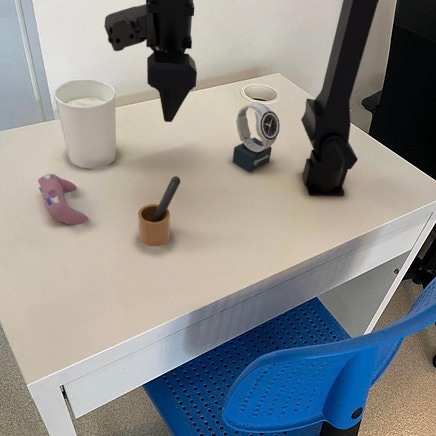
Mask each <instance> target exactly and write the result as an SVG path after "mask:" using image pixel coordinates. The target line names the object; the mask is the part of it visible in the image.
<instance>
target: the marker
mask: <svg viewBox="0 0 436 436" xmlns="http://www.w3.org/2000/svg"><path fill="white" fill-rule="evenodd" d="M180 184H181V178H180V177H179V176H177V175H175V176H172V178H171V179H170V181H169V183H168V185H167V186H166V189H165V192H164V193H163V196H162V198H161V200H160V201H159V203H158V205H159V206H158V208H157V210H156V212H155V214H154V216H153V218H152V220H151V222H159V221H161V220H162V218H163V216H164V214H165V212H166V210H167V209H168V208H169V206H170V204H171V203H172V200H173V198H174V196H175V194H176V192H177V190H178V188H179V186H180Z"/></svg>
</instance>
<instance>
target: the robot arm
mask: <svg viewBox="0 0 436 436" xmlns="http://www.w3.org/2000/svg"><path fill="white" fill-rule="evenodd" d="M379 1H380V0H342V5H341V8H340V13H339V17H338V20H337V25H336V29H335V34H334V39H333V41H332V45H331V50H330V53H329V58H328V63H327V67H326V70H325V75H324V79H323V83H322V87H321V90H320V92H319V93H318V95H317V96H316V97H315V98H314V99H313V98H306V100H305V110H304V113H303V116H302V117H301V118H300V121H301V123H302V125H303V128H304V131H305V133H306V136H307V137H308V140H309V143H310V145H311V147H312V149H311V151H310V154H309V157H307V158H306V159H305V162H304V163H305V164H304V168H303V172H302V173H301V179H302V183H303V185H304V186H305V189H306V191H307V193H308V195H309V196H315V197H316V196H317V197H322V196H324V197H326V196H327V197H343V196H345V193H346V191H345V190H344V187H343V186H344V185H345V181H346V178H347V174H348V172H349V170H351V169H352V168H353V167H354V166H355V165H356V164H357V161H358V159H359V158H358V157H357V155H356V153H355V151H354V149H353V147H352V146H351V143H350V142H349V141H350V135H351V133H350V132H351V125H352V122H351V106H350V105H351V104H350V103H351V98H352V94H353V91H354V87H355V83H356V80H357V77H358V73H359V70H360V66H361V64H362V60H363V57H364V53H365V50H366V46H367V42H368V39H369V35H370V32H371V28H372V25H373V23H374V22H373V21H374V18H375V14H376V12H377V7H378V5H379ZM194 16H195V4H194V0H145V4H140V5H137V6H136V5H135V6H132V7H128V8H124V9H121V10H118V11H115V12H111V13H109V14H107V15H106V16H105V18H104V27H103V28H104V29H105V32H106V34H107V42H108V43H109V44H110V45H111V48H112V50H113V52H120V51H124V49H126V48H128V47H132V46H134V45H135V46H136V45H138V44H141V43H143V42H145V43H146V45H145V46H146V48H150V50H151V51H152V53H151V54H150V55H148V57H146V73H147V74H146V79H147V81H146V82H147V85H149V87H150V88H153V89H155V90H156V91H158V95H159V99H160V105H161V110H162V116H163V117H162V118H163V121H164V122H165V123H172V122H173V121H174V119H175V117H176V115H177V114H178V112H179V110H180V109H181V106H182V104H183V103H184V101H185V100H186V98H187V97H188V95H189V94H190V92H191V91H193V89H194V88H196V87H197V75H198V71H197V66H196V61H195V60H194V58H193V57H192V55H190V54H189V53H186V51H187V50H192V46H193V39H192V22H193V21H192V20H193V17H194Z"/></svg>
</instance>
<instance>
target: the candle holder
mask: <svg viewBox="0 0 436 436" xmlns="http://www.w3.org/2000/svg"><path fill="white" fill-rule="evenodd" d="M116 95H117V94H116V90H115V88H114V87H113V85H111V84H110V83H108V82H106V81H103V80H100V79H94V78H75V79H71V80H67V81H64V82H62V83H60V84H58V85H57V86H56V87H55V89H54V90H53V98H54V101H55V105H56V109H57V113H58V118H59V121H60V126H61V130H62V135H63V139H64V143H65V147H66V152H67V155H68V159H69V161H70V162H71V163H72V164H73V165H75V166H77V167H78V168H81V169H87V170H94V169H95V170H96V169H101V168H104V167H107V166H109V165H110V164H112V163H113V162H114V161H115V159H116V156H117V126H116V125H117V121H116V118H117V117H116Z"/></svg>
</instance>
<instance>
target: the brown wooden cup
mask: <svg viewBox="0 0 436 436" xmlns="http://www.w3.org/2000/svg"><path fill="white" fill-rule="evenodd" d="M158 206H159V203H151V204H147V205H143V206H142V207H141V208H140V209H139V210H138V212H137V219H138V237H139V240H140V242H141V243H142V244H143V245H145V246H148V247H153V248H154V247H161V246H164V245H166V244H167V243H168V242H169V240H170V237H171V220H170V219H171V213H170V210H169V209H168V208H167V210H166V212H165V214H164V216H163V218H162V220H161V221H159V222H151V220H152V218H153V216H154V214H155V212H156V210H157V208H158Z"/></svg>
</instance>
